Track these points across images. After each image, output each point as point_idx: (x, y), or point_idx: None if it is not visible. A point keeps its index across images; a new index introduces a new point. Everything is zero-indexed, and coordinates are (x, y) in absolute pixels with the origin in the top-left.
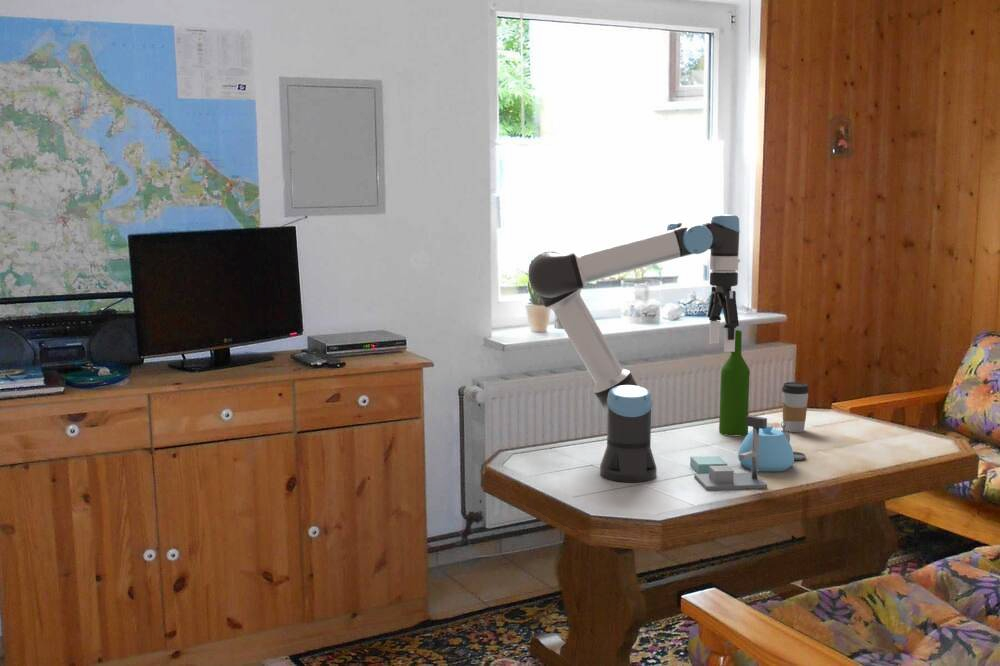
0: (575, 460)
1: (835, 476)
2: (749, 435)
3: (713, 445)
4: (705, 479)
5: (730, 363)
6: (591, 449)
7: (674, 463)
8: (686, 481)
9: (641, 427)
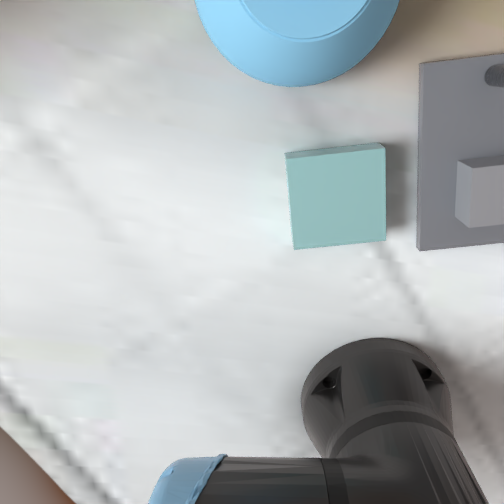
0: None
1: None
2: (312, 49)
3: (36, 122)
4: (478, 230)
5: None
6: (139, 454)
7: (268, 278)
8: (448, 272)
9: (483, 493)
